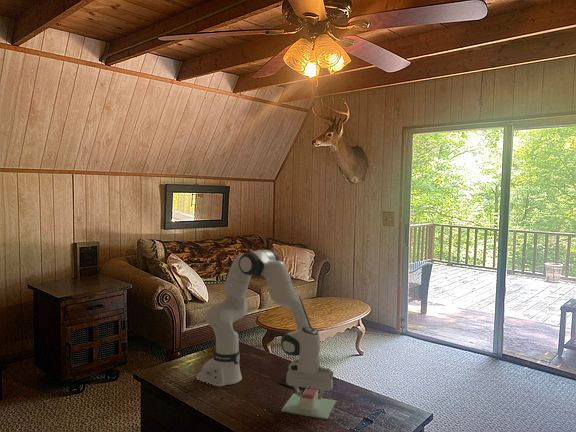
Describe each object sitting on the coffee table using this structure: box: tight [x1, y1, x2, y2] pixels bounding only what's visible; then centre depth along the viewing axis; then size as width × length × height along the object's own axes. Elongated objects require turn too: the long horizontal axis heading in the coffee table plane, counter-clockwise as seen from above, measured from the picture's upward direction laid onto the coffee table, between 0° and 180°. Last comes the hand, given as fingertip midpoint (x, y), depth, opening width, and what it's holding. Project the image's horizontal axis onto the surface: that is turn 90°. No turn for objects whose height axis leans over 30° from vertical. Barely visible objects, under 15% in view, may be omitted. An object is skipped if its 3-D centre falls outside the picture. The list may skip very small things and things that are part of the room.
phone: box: [279, 377, 310, 393], centre depth 207 cm, size 8×1×15 cm
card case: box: [300, 389, 319, 411], centre depth 186 cm, size 9×6×5 cm, turn 161°
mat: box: [280, 393, 337, 420], centre depth 186 cm, size 20×16×1 cm
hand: (309, 397), depth 186 cm, fingers open, 8 cm apart
